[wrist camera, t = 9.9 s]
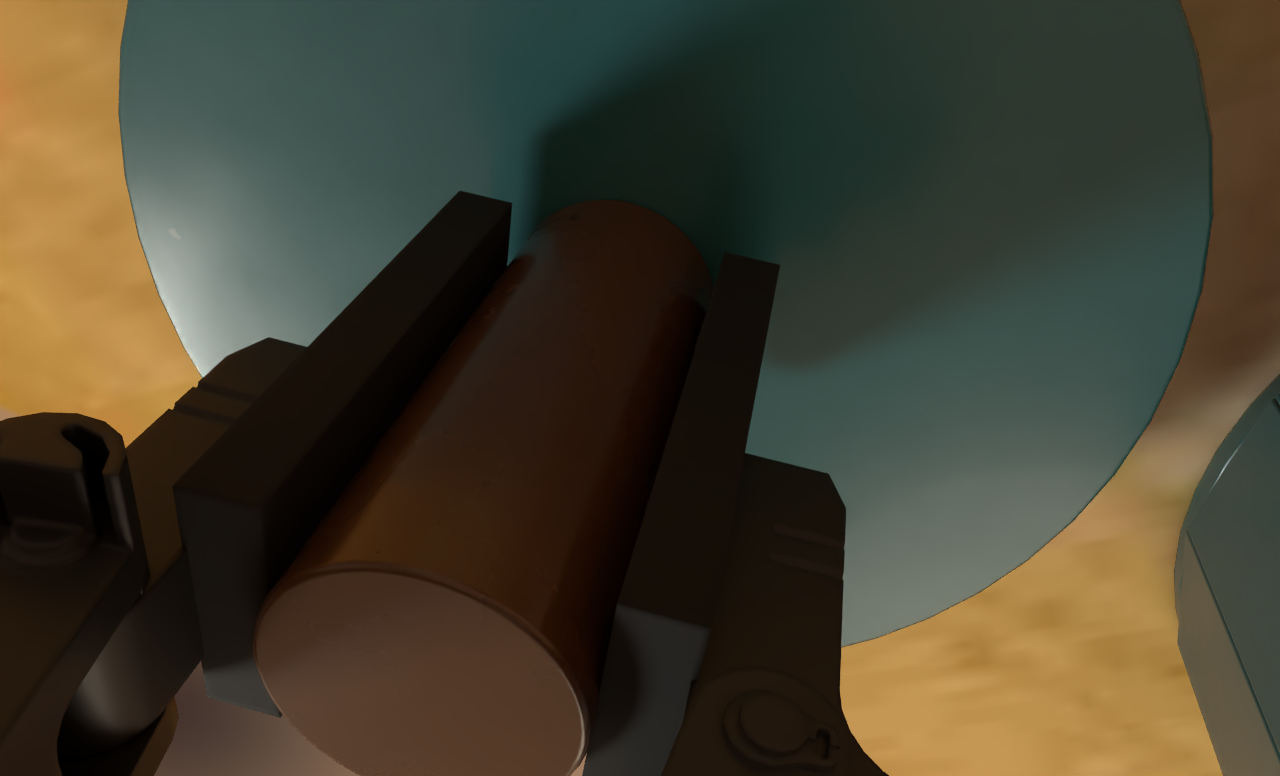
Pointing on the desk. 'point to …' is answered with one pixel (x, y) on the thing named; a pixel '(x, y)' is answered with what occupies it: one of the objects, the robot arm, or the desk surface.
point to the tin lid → (669, 301)
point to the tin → (1236, 592)
